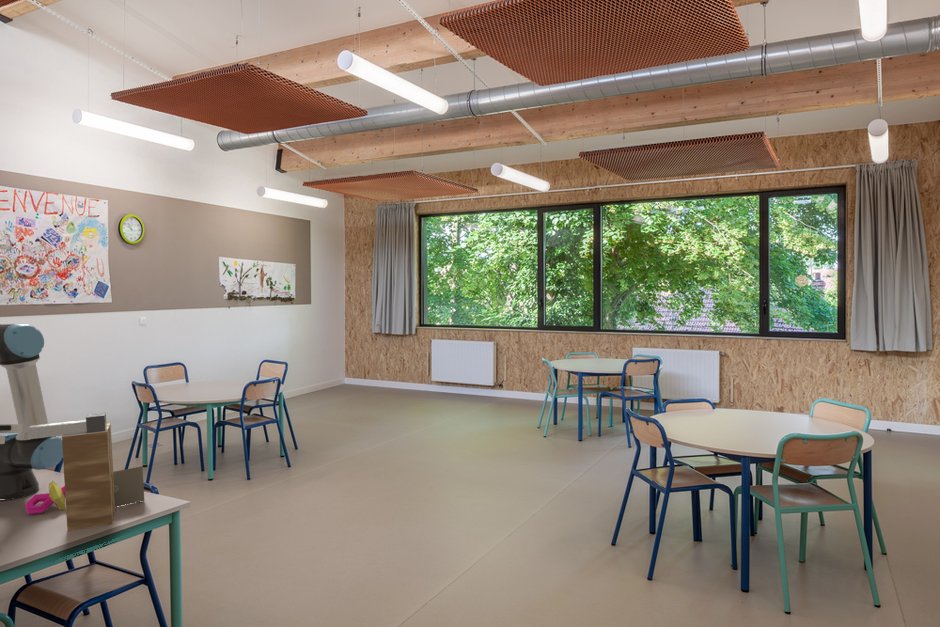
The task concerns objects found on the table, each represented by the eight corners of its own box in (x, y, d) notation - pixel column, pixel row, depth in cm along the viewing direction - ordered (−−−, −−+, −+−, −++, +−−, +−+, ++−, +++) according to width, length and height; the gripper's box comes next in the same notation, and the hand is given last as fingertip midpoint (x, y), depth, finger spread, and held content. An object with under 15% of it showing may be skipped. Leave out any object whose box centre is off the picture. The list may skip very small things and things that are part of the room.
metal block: (31, 436, 184) (30, 420, 184) (106, 427, 193) (105, 412, 193) (28, 439, 180) (27, 423, 180) (105, 430, 189) (104, 415, 189)
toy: (29, 510, 206) (17, 490, 201) (86, 484, 217) (77, 464, 211) (34, 528, 200) (23, 508, 195) (93, 501, 210) (84, 480, 205)
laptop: (138, 493, 220) (136, 458, 219) (144, 502, 210) (142, 466, 209) (80, 505, 208) (78, 469, 208) (84, 515, 199) (82, 477, 198)
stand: (73, 517, 196) (68, 427, 195) (115, 510, 202) (110, 423, 200) (67, 531, 185) (61, 436, 183) (112, 523, 190) (106, 431, 189)
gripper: (-85, 458, 187) (-3, 454, 204) (-55, 436, 175) (29, 434, 192) (-83, 435, 189) (-3, 433, 206) (-54, 411, 177) (29, 412, 195)
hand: (13, 434), depth 199 cm, fingers open, 13 cm apart
